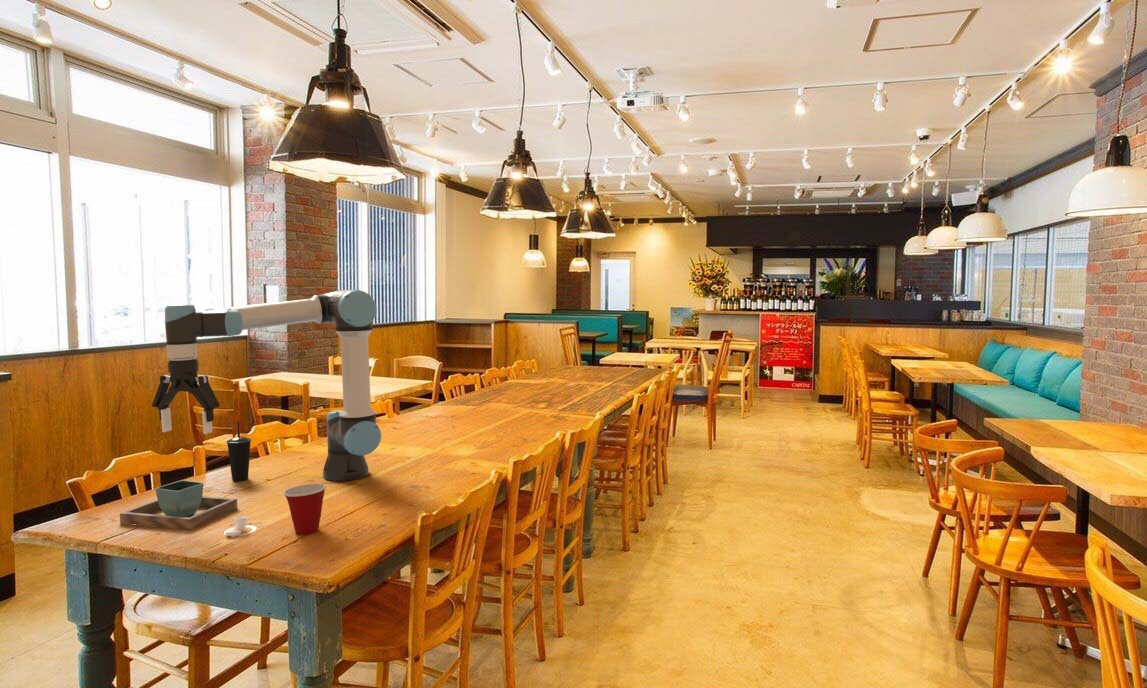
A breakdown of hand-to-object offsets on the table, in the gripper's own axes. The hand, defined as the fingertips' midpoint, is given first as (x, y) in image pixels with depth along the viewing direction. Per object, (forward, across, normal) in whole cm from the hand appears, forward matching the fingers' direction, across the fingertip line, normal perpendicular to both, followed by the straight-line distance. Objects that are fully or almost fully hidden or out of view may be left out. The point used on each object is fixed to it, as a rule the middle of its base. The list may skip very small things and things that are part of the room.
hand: (187, 432), depth 194 cm
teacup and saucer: (+24, -21, +12) cm, 35 cm away
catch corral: (+24, +1, +4) cm, 24 cm away
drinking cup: (+24, +9, -33) cm, 42 cm away
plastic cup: (+24, -41, +7) cm, 48 cm away
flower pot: (+24, +1, +3) cm, 24 cm away
